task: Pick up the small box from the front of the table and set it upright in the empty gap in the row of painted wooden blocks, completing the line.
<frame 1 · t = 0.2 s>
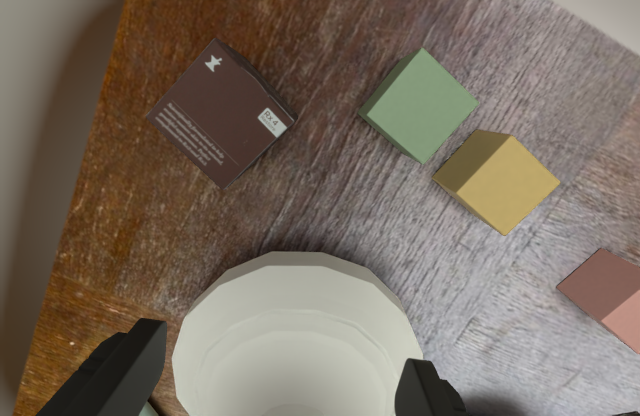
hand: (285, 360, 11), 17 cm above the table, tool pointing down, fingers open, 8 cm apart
box: (246, 114, 26), on the table
block a: (402, 108, 25), on the table
candle holder: (301, 332, 31), on the table
block c: (595, 283, 30), on the table
block b: (474, 173, 27), on the table
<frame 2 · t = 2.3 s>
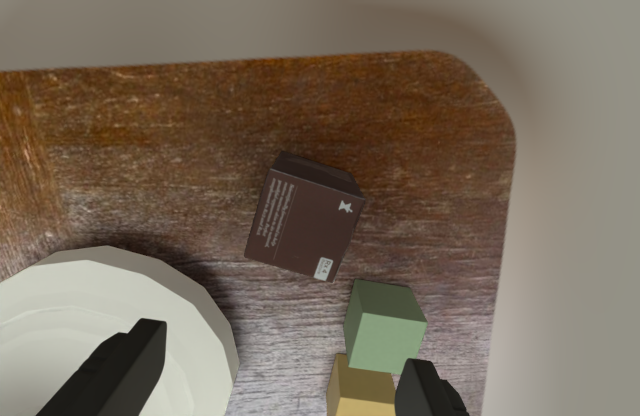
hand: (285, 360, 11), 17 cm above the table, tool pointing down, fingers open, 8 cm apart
box: (306, 196, 27), on the table
block a: (375, 307, 30), on the table
candle holder: (137, 331, 31), on the table
block b: (356, 377, 32), on the table
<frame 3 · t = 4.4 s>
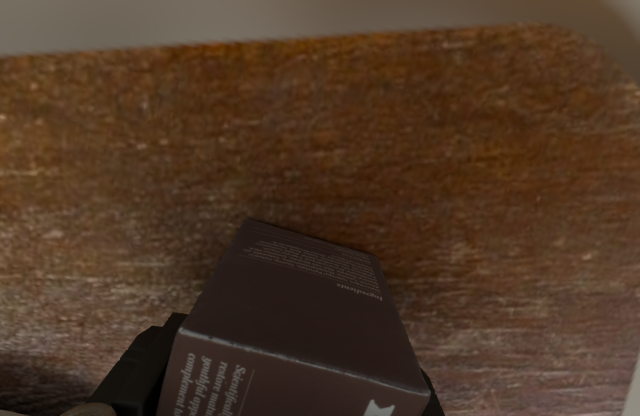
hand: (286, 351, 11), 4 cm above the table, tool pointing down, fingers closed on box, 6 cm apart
box: (293, 290, 15), on the table, touching gripper
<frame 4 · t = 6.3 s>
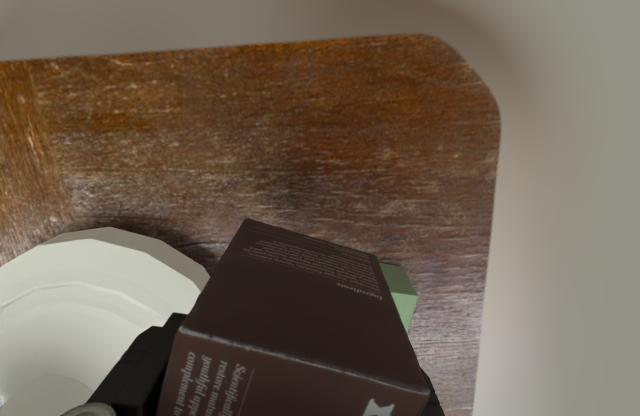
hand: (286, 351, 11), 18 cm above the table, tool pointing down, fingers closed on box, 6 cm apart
box: (293, 290, 15), point 14 cm above the table, touching gripper
block a: (369, 286, 31), on the table
candle holder: (140, 313, 32), on the table
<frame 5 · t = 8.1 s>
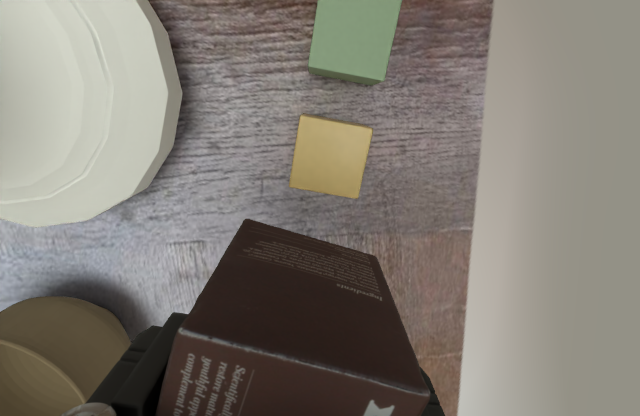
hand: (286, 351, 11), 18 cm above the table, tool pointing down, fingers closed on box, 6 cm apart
box: (293, 291, 15), point 14 cm above the table, touching gripper
bowl: (95, 325, 33), on the table
block a: (347, 45, 25), on the table
candle holder: (68, 84, 26), on the table
block b: (327, 149, 28), on the table
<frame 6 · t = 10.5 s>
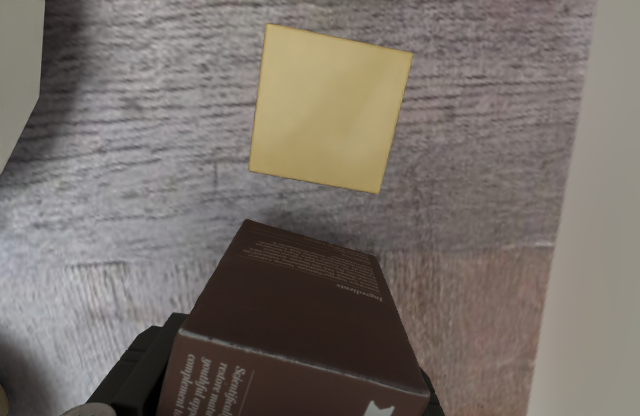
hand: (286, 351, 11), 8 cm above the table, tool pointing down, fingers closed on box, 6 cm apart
box: (293, 291, 15), point 4 cm above the table, touching gripper
block b: (323, 112, 16), on the table
when the fingers open (4 cm above the table, at t = 12.1 s): box stays where it is, on the table.
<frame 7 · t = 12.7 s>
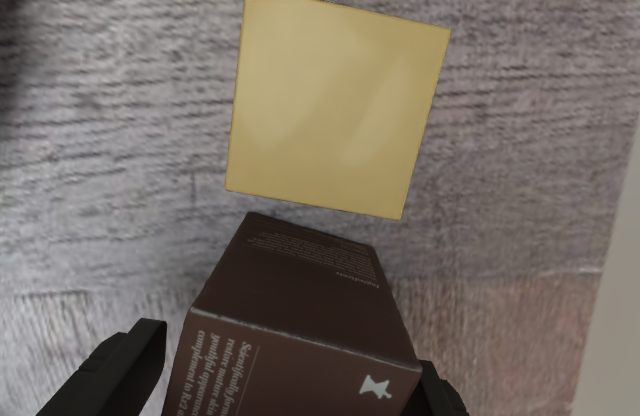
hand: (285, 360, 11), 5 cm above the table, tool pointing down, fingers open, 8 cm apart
box: (294, 282, 16), on the table
block b: (325, 111, 13), on the table
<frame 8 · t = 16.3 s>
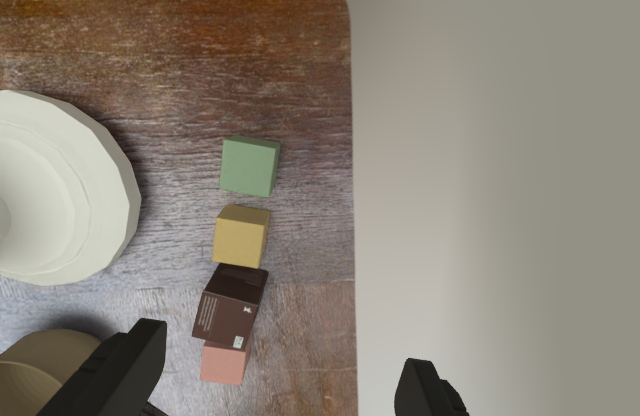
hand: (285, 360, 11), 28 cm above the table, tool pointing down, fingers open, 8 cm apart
box: (240, 284, 42), on the table
bowl: (84, 346, 44), on the table
block a: (255, 161, 37), on the table
candle holder: (65, 184, 38), on the table
block c: (232, 338, 44), on the table
block b: (247, 227, 39), on the table
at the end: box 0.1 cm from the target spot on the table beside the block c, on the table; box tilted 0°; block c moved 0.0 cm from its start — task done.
